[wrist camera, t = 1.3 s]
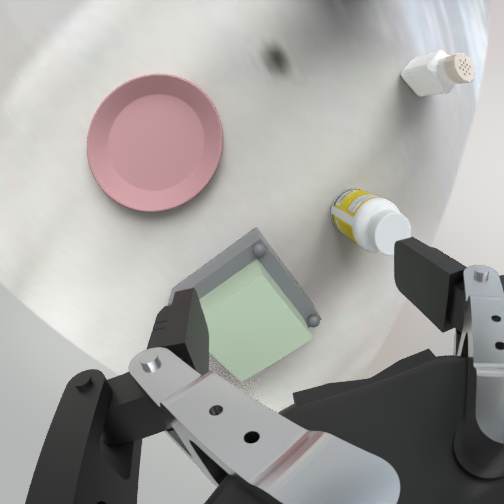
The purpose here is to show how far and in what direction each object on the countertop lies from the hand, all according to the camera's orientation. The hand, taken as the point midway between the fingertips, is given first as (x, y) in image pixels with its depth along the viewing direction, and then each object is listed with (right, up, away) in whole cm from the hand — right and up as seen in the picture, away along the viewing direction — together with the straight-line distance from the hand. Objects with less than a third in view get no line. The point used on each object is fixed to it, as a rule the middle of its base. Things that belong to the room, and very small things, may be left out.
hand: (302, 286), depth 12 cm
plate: (-12, +13, +19) cm, 26 cm away
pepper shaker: (+18, +23, +18) cm, 34 cm away
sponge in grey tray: (-3, -4, +25) cm, 26 cm away
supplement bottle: (+9, +6, +23) cm, 26 cm away
